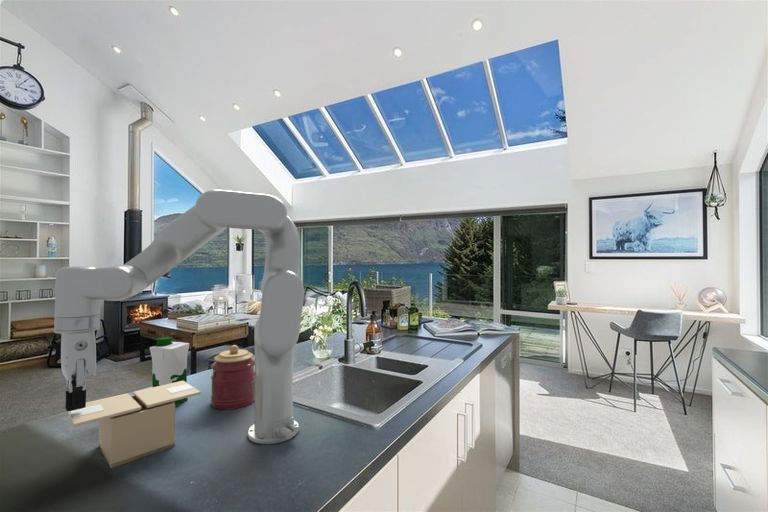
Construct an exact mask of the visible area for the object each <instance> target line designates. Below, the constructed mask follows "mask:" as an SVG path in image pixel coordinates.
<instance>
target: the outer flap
mask: <svg viewBox="0 0 768 512" xmlns="http://www.w3.org/2000/svg"><path fill="white" fill-rule="evenodd" d="M131 396H132V395H130V394H129V393H128V392H126V393H123V394H122V393H121V394H118V395H113V396H109V397H104V398H101V399H96V400H92V401H86V407H85V408H82V409H77V410H73V411H67V410H66V409H65V411H66V412H67V415H68V417H69V419H70V421H71V423H72V425H73V427H75V428H76V427H79V426H83V425H88V424H91V423H95V422H99V420H103V419H107V418H111V417H115V416H118V415H122V414H126V413H130V412H134V411H138V410H141V406H140V405H139V404H138V403H137V402H136V401H135V400H134V399H133V398H132V397H131Z"/></svg>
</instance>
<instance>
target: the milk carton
mask: <svg viewBox="0 0 768 512" xmlns="http://www.w3.org/2000/svg"><path fill="white" fill-rule="evenodd" d="M172 338H173V337H172V336H161V337H157V338H156V344H155V345H153V346H150V347H149V352H150V356H151V360H152V364H151V366H152V369H151V370H152V373H151V374H152V375H151V376H152V377H151V378H152V379H151V380H152V385H151V388H152V387H157V386H161V385H166V384H170V383H174V382H179V381H185V382H186V383H188V377H187V375H188V371H187V370H188V354H189V348H190V343H189V342H183V341H173V339H172ZM188 400H189V397H188V398H184V399H180V400H176V401H173V402H174V403H175V407H177V406H178V405H180V404H182V403H184V402H185V401H186V402H187V401H188Z"/></svg>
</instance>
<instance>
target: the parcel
mask: <svg viewBox="0 0 768 512" xmlns="http://www.w3.org/2000/svg"><path fill="white" fill-rule="evenodd" d="M130 396H131V397H132V398H133V399H134V400H135V401H136V402H137V403H138V404H139V405H140V406H141V410H138V411H134V412H130V413H126V414H122V415H118V416H115V417H111V418H107V419H103V420H99V421H98V448H99V449H100V451H101V453H102V455H103V456H104V458H105V460H106V462H107V464H108V465H109V467H110V468H111V469H113V468H115V467H119V466H121V465H124V464H128V463H130V462H133V461H136V460H139V459H142V458H145V457H148V456H151V455H153V454H156V453H159V452H162V451H166V450H167V449H171V448H173V447H175V446H176V443H175V442H176V406H175V403H174V402H173V401H172V402H168V403H164V404H161V405H157V406H153V407H149V408H147V407H146V406H145V405H144V404H143V403H142V402H141V401H140V400H139V399H138V398H137V397H136V396H135V395H134V394H133V395H130Z"/></svg>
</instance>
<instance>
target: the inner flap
mask: <svg viewBox="0 0 768 512" xmlns="http://www.w3.org/2000/svg"><path fill="white" fill-rule="evenodd" d="M201 393H202V392H201V390H199V389H197V388H196V387H194V386H193V385H191V384H189V383H188V382H187V383H186V382H185V381H179V382H174V383H170V384H166V385H161V386H157V387H152V386H151V387H149V388H144V389H139V390H135V391H133V393H132V394H133V395H135V396H136V397H137V398H138V399H139V400H140V401H141V402H142V403H143V404H144V405H145V406H146V407H147V408H149V407H153V406H157V405H161V404H164V403H168V402H172V401H176V400H180V399H184V398H188V399H189V398H191V397H195V396H199V395H201Z"/></svg>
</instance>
